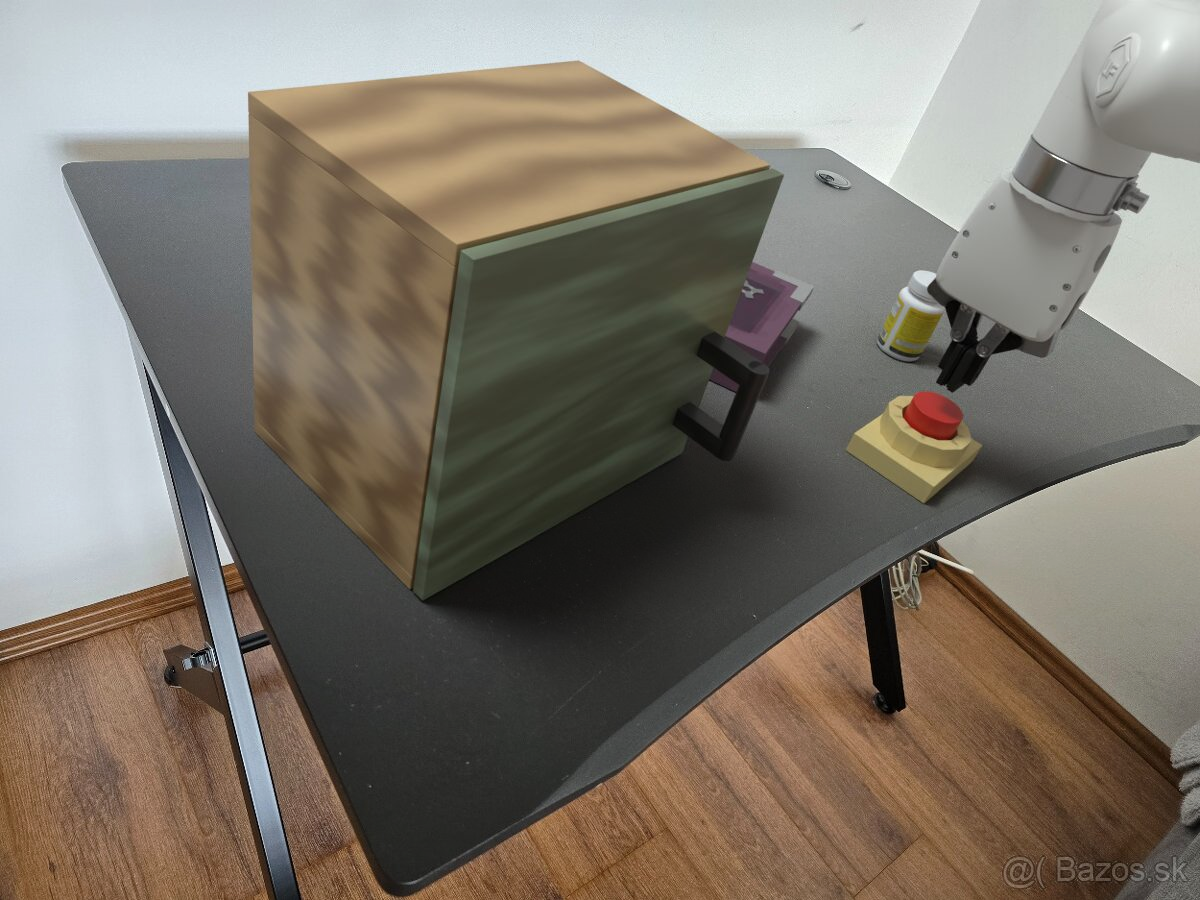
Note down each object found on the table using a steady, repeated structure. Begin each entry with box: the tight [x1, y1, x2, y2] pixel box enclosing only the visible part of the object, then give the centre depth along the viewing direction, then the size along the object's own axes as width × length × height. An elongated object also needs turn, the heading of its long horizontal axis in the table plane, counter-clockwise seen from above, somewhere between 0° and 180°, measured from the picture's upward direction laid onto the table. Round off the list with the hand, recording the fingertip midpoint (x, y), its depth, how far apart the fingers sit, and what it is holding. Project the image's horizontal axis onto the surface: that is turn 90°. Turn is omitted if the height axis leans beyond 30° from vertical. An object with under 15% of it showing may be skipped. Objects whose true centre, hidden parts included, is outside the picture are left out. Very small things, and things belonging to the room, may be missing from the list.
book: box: [709, 261, 815, 393], centre depth 90 cm, size 25×16×5 cm, turn 64°
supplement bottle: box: [876, 269, 946, 362], centre depth 94 cm, size 5×5×8 cm
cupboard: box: [247, 60, 771, 590], centre depth 62 cm, size 18×26×24 cm
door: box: [412, 168, 785, 601], centre depth 57 cm, size 6×26×24 cm, turn 137°
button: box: [904, 390, 964, 440], centre depth 79 cm, size 4×4×2 cm
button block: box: [845, 395, 983, 504], centre depth 80 cm, size 10×8×4 cm
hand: (951, 382), depth 76 cm, fingers closed
